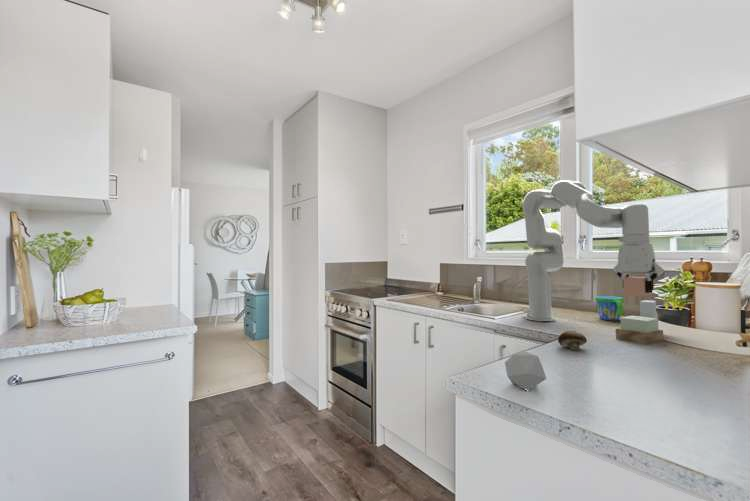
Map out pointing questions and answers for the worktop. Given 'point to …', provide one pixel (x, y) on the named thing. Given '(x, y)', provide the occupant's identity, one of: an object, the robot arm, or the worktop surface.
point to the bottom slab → (639, 336)
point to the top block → (639, 324)
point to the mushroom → (572, 340)
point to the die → (525, 370)
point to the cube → (635, 286)
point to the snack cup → (609, 307)
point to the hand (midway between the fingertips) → (637, 291)
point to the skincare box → (648, 309)
